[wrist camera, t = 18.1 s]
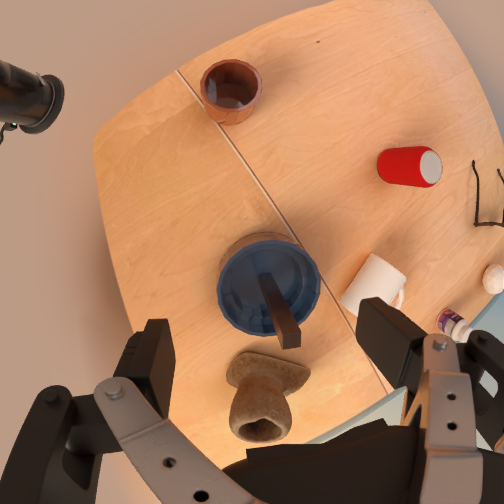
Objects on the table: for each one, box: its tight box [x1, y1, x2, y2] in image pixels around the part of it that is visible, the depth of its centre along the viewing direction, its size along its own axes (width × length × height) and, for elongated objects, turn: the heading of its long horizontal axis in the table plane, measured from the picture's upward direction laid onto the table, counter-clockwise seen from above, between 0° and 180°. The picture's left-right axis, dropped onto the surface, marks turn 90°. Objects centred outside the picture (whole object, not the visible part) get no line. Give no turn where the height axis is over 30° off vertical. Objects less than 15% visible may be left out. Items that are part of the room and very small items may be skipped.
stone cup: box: [226, 352, 311, 443], centre depth 44 cm, size 15×12×15 cm
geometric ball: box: [482, 264, 504, 294], centre depth 49 cm, size 8×8×8 cm
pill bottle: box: [436, 308, 473, 343], centre depth 49 cm, size 5×5×10 cm
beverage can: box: [377, 146, 442, 188], centre depth 37 cm, size 6×6×12 cm
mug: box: [340, 253, 407, 317], centre depth 44 cm, size 12×10×8 cm
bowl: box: [217, 232, 321, 337], centre depth 42 cm, size 15×15×6 cm
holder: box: [200, 59, 262, 125], centre depth 33 cm, size 7×7×9 cm
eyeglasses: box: [472, 160, 504, 227], centre depth 44 cm, size 15×15×5 cm
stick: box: [259, 273, 301, 349], centre depth 36 cm, size 2×2×18 cm
